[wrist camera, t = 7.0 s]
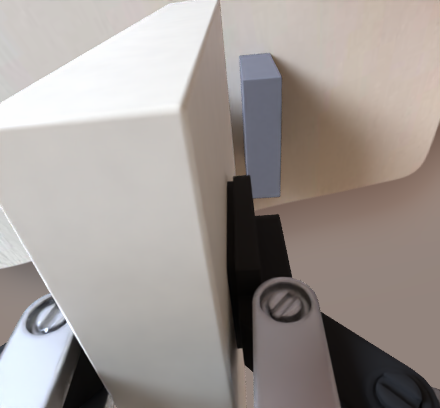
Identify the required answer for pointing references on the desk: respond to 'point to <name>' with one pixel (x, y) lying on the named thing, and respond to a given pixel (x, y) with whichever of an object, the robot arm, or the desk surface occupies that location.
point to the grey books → (262, 123)
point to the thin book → (134, 206)
